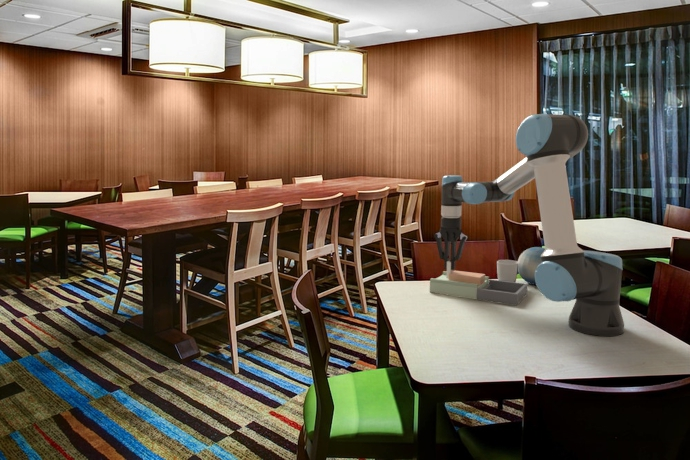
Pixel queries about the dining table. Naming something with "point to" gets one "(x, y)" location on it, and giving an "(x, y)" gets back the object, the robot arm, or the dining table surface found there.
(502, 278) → the cup
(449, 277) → the tile rear
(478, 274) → the tile front
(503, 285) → the tray
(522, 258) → the decorative ball
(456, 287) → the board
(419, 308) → the dining table surface
